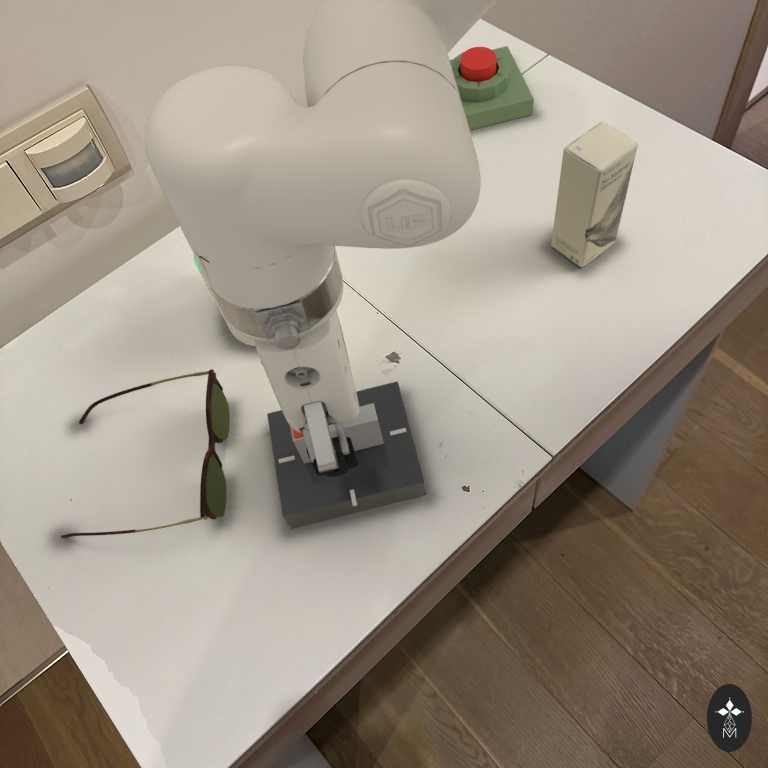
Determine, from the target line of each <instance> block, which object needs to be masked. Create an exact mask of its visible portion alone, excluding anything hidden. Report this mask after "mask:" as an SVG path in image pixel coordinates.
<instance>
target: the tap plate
mask: <svg viewBox="0 0 768 768" xmlns="http://www.w3.org/2000/svg"><path fill="white" fill-rule="evenodd" d="M356 393H357V397H358V402H359V407H360V406H364V405H368V404H373V403H374V406H375V410H376V414H377V417H378V421H379V425H380V429H381V433H382V437H383V441H384V444H382V445H378V446H374V447H370V448H366V449H362V450H358V451H355V453H356V456H357V460H358V466H357V467H354V468H351V469H348V471H347V472H346V473H345V474H342V475H339V476H334V477H329V476H327V475H322V476H319V475H317V474H316V472H315V470H314V468H313V465H312V463H311V462H309V463H305V464H304V462H303V460H302V458H301V456H300V454H299V452H298V450H297V448H296V446H295V444H294V442H293V440H292V434H291V428H290V425H289V423H288V422H287V420H286V418H285V416H284V414H283V412H282V410H281V409H280V410H276V411H272V412H268V413H267V414H266V415H267V421H268V429H269V435H270V442H271V448H272V454H273V460H274V469H275V473H276V479H277V486H278V492H279V499H280V507H281V514H282V517H283V519H284V520H285V522H286V523H287V525H288V526H289V528H290V529H296V528H300V527H305V526H308V525H313V524H316V523H319V522H325V521H328V520H333V519H336V518H339V517H345V516H348V515H353V514H355V513H360V512H363V511H367V510H372V509H376V508H380V507H384V506H388V505H393V504H396V503H400V502H405V501H408V500H411V499H416V498H420V497H424V496H427V495H428V493H427V487H426V482H425V477H424V474H423V472H422V471H423V470H422V466H421V463H420V459H419V456H418V452H417V448H416V445H415V444H416V443H415V440H414V436H413V432H412V429H411V426H410V423H409V422H410V421H409V418H408V414H407V411H406V407H405V403H404V400H403V395H402V392H401V388H400V383H399V382H398V381H393V382H388V383H384V384H381V385H376V386H373V387H369V388H368V387H367V388H365V389H364V388H363V389H361V390H356ZM323 405H324V409H325V412H328V411H327V408H326V405H325V404H323ZM305 416H306V415H305Z"/></svg>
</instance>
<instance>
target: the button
mask: <svg viewBox="0 0 768 768" xmlns="http://www.w3.org/2000/svg"><path fill="white" fill-rule="evenodd" d="M463 52H464V53H463ZM463 52H462V53H463V54H462V56H461V59H460V62H461V75H462V77H463V78H464V79H466V80H467V81H472V82H482V81H486V80H489V79H491V78H492V77H493V76H494V75H495V73H496V54H495V52H494V51H493V49H491V48H489V47H486V46H474V47H470V48H468V49H466V50H464V51H463Z"/></svg>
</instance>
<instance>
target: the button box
mask: <svg viewBox="0 0 768 768" xmlns="http://www.w3.org/2000/svg"><path fill="white" fill-rule="evenodd" d="M492 50H493V51H494V52H495V54H496V73H495V75H494V76H493V77H492V78H491V79H489V80H486V81H482V82H472V81H467V80H466V79H464V78H463V77H462V75H461V62H460V59H461V56H462V54H463V53H464V52H465V51H463V52H461V53H460V54H458V55H457V56H455V57H454V58H452V59H449V61H450V64H451V67H452V71H453V74H454V78H455V81H456V84H457V88H458V91H459V95H460V98H461V102H462V106H463V109H464V113H465V116H466V119H467V123H468V126H469V130H470V131H471V130H475V129H480V128H484V127H488V126H492V125H495V124H500V123H504V122H508V121H513V120H516V119H520V118H525V117H529V116H533V115H534V102H535V99H534V97H533V94H532V92H531V91H530V88H529V87H528V85H527V83H526V80H525V79H524V76H523V74H522V72H521V70H520V68H519V66H518V65H517V62H516V60H515V57H514V56H513V54H512V52H511V50H510V48H509V46H508V45H505V46H502V47H496V48H493V49H492Z"/></svg>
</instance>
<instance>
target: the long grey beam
mask: <svg viewBox="0 0 768 768" xmlns="http://www.w3.org/2000/svg"><path fill="white" fill-rule="evenodd" d="M359 409H360V412H359V415H358V417H357V418H356V420H353V421H350V422H347V423H343V427H344V431H345V434H346V437H350V438H351V441H352V444H353V447H354V450H355V451H358V450H362V449H366V448H370V447H374V446H378V445H382V444H384V441H383V437H382V433H381V429H380V425H379V421H378V417H377V414H376V410H375V406H374V403H373V404H368V405H364V406H360V407H359ZM328 426H329V430H330V434H331V438H333V437H337V433H336V429H335V425H334V424H331V425H328ZM290 428H291V426H290ZM291 434H292V440H293V442H294V444H295V446H296V448H297V450H298V452H299V454H300V456H301V458H302V460H303V462H304V464H305V463H309V462H311V461H310V459H309V457H308V454H307V449H306V448H307V445H306V442H305V438H304V435H303V431H302V433H299V432H297V431H295V430H294V429H292V428H291Z"/></svg>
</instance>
